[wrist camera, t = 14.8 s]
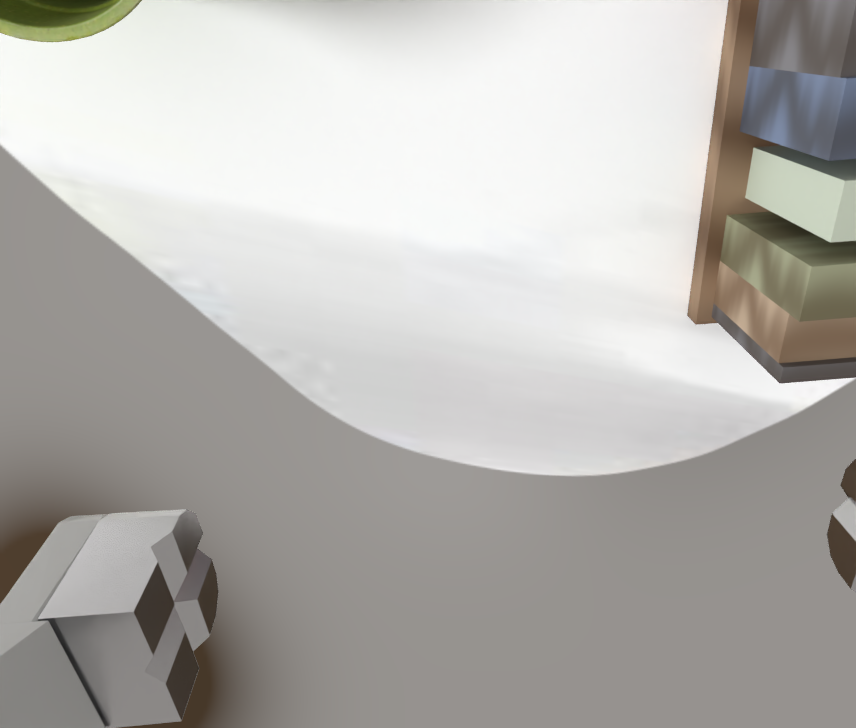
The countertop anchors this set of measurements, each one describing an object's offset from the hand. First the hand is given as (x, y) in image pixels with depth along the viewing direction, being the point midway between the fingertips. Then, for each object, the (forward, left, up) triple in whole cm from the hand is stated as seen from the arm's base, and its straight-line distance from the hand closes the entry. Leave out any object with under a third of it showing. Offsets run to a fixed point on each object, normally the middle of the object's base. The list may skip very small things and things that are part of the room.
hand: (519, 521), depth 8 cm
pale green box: (+4, +22, -33) cm, 39 cm away
